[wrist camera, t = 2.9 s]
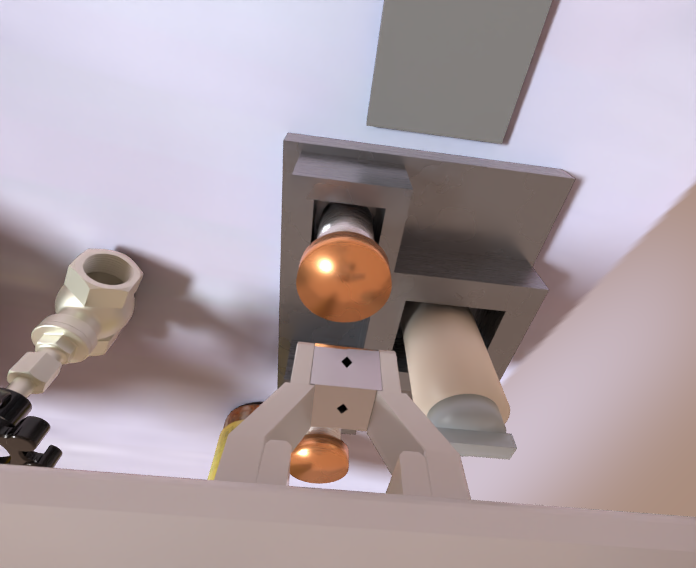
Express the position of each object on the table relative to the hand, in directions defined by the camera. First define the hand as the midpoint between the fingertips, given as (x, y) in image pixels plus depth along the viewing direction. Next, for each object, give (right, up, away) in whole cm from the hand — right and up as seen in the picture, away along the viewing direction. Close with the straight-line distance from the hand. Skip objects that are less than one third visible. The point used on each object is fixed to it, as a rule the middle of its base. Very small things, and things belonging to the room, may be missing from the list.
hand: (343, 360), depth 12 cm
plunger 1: (0, +5, +7) cm, 9 cm away
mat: (+5, +13, +6) cm, 15 cm away
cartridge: (+6, +1, +13) cm, 14 cm away
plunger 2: (-2, -5, +14) cm, 15 cm away
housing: (+3, +2, +14) cm, 14 cm away
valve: (-16, +2, +14) cm, 21 cm away
